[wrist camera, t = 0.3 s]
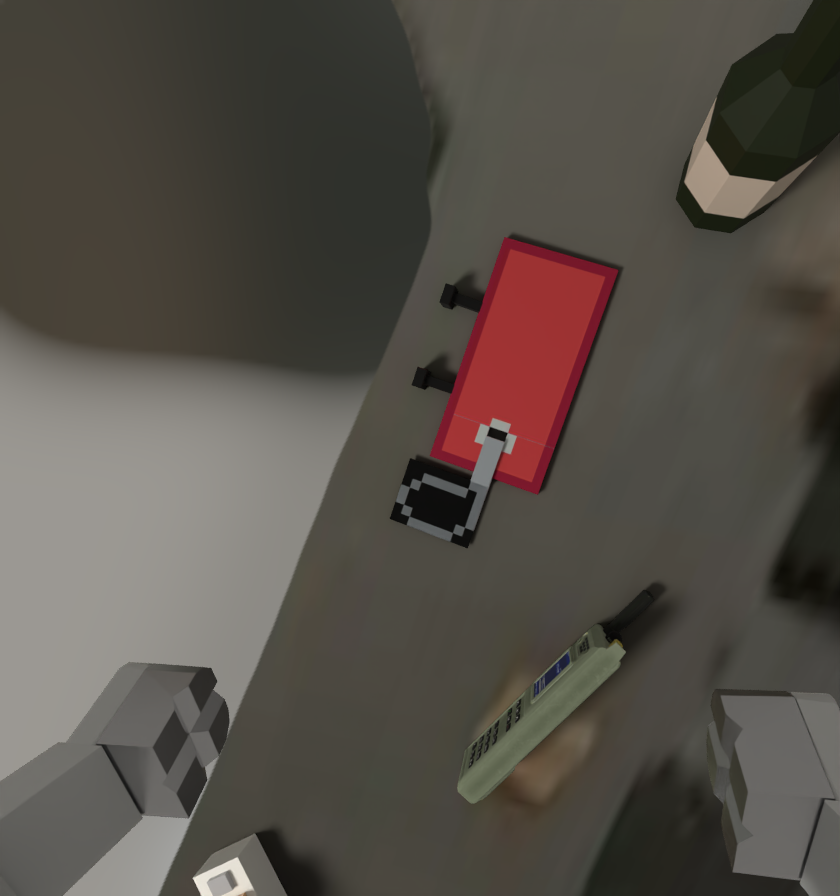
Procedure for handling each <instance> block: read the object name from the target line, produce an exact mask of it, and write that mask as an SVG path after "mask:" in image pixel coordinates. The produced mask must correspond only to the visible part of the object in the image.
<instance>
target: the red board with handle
mask: <svg viewBox="0 0 840 896" xmlns="http://www.w3.org/2000/svg"><path fill="white" fill-rule="evenodd" d="M617 273H618V270H616V269H613V268H610V267H606V266H603V265H599V264H596V263H592V262H589V261H585V260H582V259H579V258H575V257H572V256H568V255H565V254H561V253H558V252H554V251H551V250H548V249H544V248H541V247H537V246H534V245H530V244H527V243H523V242H520V241H516V240H513V239H510V238H506V237H504V240H503V243H502V246H501V249H500V252H499V255H498V258H497V261H496V264H495V267H494V270H493V272H492V275H491V278H490V281H489V284H488V287H487V290H486V293H485V296H484V299H483V302H480V301H477V300H474V299H472V298H469V297H466V296H463V295H460V294H458V290H457V289H456V287H455V286H453V285H449V284H445V287H444V290H443V293H442V296H441V299H440V303H441V305H442V306H443V307H445V308H449V309H452V308H453V305H454V304H455V305H458V306H461V307H464V308H467V309H469V310H472V311H475V312H478V316H477V319H476V322H475V325H474V328H473V331H472V334H471V337H470V340H469V343H468V346H467V348H466V351H465V354H464V357H463V360H462V363H461V366H460V369H459V372H458V375H457V378H456V381H455V384H451V383H448V382H446V381H443V380H440V379H437V378H434V377H431V376H430V374H431V372H430V371H428V370H426V369H423V368H420V367H418V368H417V371H416V374H415V377H414V380H413V383H412V385H413V386H416V387H419V388H422V389H426V386H430V387H433V388H436V389H439V390H442V391H445V392H448V393H451V395H450V398H449V401H448V404H447V407H446V410H445V413H444V416H443V419H442V422H441V424H440V427H439V430H438V433H437V436H436V439H435V442H434V445H433V448H432V451H431V454H430V456H431V457H434V458H437V459H440V460H443V461H445V462H448V463H451V464H454V465H457V466H459V467H462V468H465V469H468V470H470V471H473V475H472V478H471V480H469V479H466V478H464V477H461V476H458V475H455V474H453V473H450V472H447V471H444V470H441V469H439V468H436V467H433V466H430V465H428V464H425V463H422V462H419V461H417V460H414V459H411V458H410V461H409V464H408V467H407V470H406V473H405V476H404V478H403V481H402V484H401V487H400V490H399V493H398V496H397V499H396V502H395V505H394V508H393V511H392V514H391V517H390V519H392V520H394V521H397V522H400V523H402V524H405V525H408V526H410V527H413V528H415V529H418V530H421V531H423V532H426V533H429V534H431V535H434V536H436V537H439V538H442V539H444V540H447V541H450V542H452V543H455V544H457V545H460V546H463V547H465V548H468V546H469V543H470V540H471V537H472V534H473V531H474V528H475V526H476V523H477V520H478V517H479V514H480V511H481V509H482V506H483V503H484V500H485V497H486V494H487V492H488V489H489V486H490V484H491V481H492V478H493V479H496V480H498V481H501V482H504V483H507V484H510V485H512V486H515V487H518V488H521V489H523V490H526V491H529V492H532V493H535V494H537V495H538V493H539V490H540V487H541V484H542V481H543V479H544V476H545V473H546V470H547V468H548V465H549V462H550V459H551V456H552V454H553V451H554V448H555V445H556V442H557V440H558V437H559V434H560V431H561V429H562V426H563V423H564V420H565V417H566V415H567V412H568V409H569V406H570V404H571V401H572V398H573V395H574V392H575V390H576V387H577V384H578V381H579V379H580V376H581V373H582V370H583V367H584V365H585V362H586V359H587V356H588V354H589V351H590V348H591V345H592V342H593V340H594V337H595V334H596V331H597V328H598V326H599V323H600V320H601V317H602V315H603V312H604V309H605V306H606V303H607V301H608V298H609V295H610V292H611V290H612V287H613V284H614V281H615V278H616V276H617ZM490 427H492V428H495V429H497V430H500V431H503V432H506V433H508V434H507V437H506V440H505V442H504V441H501V440H498V439H495V438H492V437H489V436H487V435H488V432H489V430H490Z"/></svg>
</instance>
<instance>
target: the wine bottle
mask: <svg viewBox="0 0 840 896" xmlns="http://www.w3.org/2000/svg"><path fill="white" fill-rule="evenodd" d="M839 132H840V0H813V2H812V4H811V5H810V7H809V9H808V10H807V12H806V14H805V15H804V17H803V19H802V20H801V22H800V24H799V25H798V27H797V29H796V30H795V32H794V33H788V34H776V35H774V36H773V37H772V38H770V39H769V40H767V41H766V42H764V43H763V44H761V45H760V46H758V47H757V48H756V49H754V50H753V51H751V52H750V53H748V54H747V55H745V56H744V57H742V58H741V59H740V60H738V61H737V62H735V63H734V64H732V66H731V68H730V70H729V72H728V74H727V76H726V78H725V80H724V83H723V85H722V87H721V89H720V91H719V93H718V95H717V97H716V99H715V101H714V104H713V106H712V108H711V110H710V112H709V114H708V116H707V118H706V120H705V123H704V125H703V127H702V129H701V131H700V133H699V135H698V137H697V139H696V141H695V144H694V146H693V148H692V150H691V152H690V154H689V156H688V158H687V160H686V162H685V165H684V169H683V173H682V176H681V180H680V184H679V188H678V192H677V196H676V200H677V202H678V203H679V205H680V206H681V208H682V209H683V211H684V212H685V214H686V215H687V217H688V218H689V220H690V221H691V223H692V224H693V226H694V227H696V228H702V229H708V230H714V231H721V232H727V233H732V232H733V231H735V230H737V229H738V228H740V227H741V226H743V225H745V224H746V223H748V222H749V221H751V220H752V219H754V218H756V217H757V216H759V215H760V214H762V213H764V211H765V210H766V209H767V208H768V207H769V206H770V205H771V204H772V203H773V202H774V201H775V200H776V199H777V198H778V197H779V196H780V195H781V194H782V193H783V191H784V190H785V189H786V188H787V187H788V186H789V185H790V184H791V183H792V182H793V181H794V180H795V179H796V178H797V177H798V176H799V175H800V174H801V172H802V171H803V170H804V169H805V168H806V167H807V166H808V165H809V164H810V163H811V162H812V161H813V160H814V159H815V158H816V157H817V156H818V155H819V153H820V152H821V151H822V150H823V149H824V148H825V147H826V146H827V145H828V144H829V143H830V142H831V141H832V140H833V139H834V138H835V137H836V136H837V135H838V133H839Z"/></svg>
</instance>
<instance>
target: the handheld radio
mask: <svg viewBox="0 0 840 896" xmlns="http://www.w3.org/2000/svg"><path fill="white" fill-rule="evenodd" d="M653 601H654V598H653V596H652V594H651V593H649V592H648V591H646V590H643V591H642V592H641V593H640V594H639V595H638V596H637V597H636V598H635V599H634V600H633V601H632V602H631V603H630V604H629V605H628V606H627V607H626V608H625V609H624V610H623V611H622V612H620V613H619V614H618V615H617V616H616V617H615V618H616V619H615V620H614V621H613V622H611V623H610V624H608V625H607V626H606V627H605V628H603V627H602V626H601V625H598V624H596V625H594V626H593V627H591V628H590V629H589V630H588V631H587V632H586V633H585V634H584V635H583V636H582V637H581V638H580V639H579V640H578V641H577V642H576V643H574V644H573V645H572V646H571V647H569V648H568V649H567V650H566V651H565V652H564V653H563V654H562V655H561V656H560V657H559V658H558V659H557V660H556V661H555V662H554V663H553V664H552V665H551V666H550V667H549V668H548V669H547V670H546V671H545V672H543V673H542V674H541V675H540V676H539V677H538V678H537V679H536V680H535V681H534V682H533V683H532V685H531V686H530V687H529V688H528V689H527V690H526V691H525V692H524V693H523V694H522V695H521V696H520V697H519V698H518V699H517V700H516V701H515V702H514V703H513V704H512V705H511V706H510V707H508V708H507V709H506V710H505V711H504V712H503V713H502V714H501V715H500V716H499V717H498V718H497V719H496V720H495V721H494V722H493V723H492V724H491V725H490V726H489V727H488V728H487V729H486V730H485V731H484V732H483V733H482V734H481V735H480V736H479V737H478V738H477V739H476V740H475V741H474V742H473V743H472V744H471V745H470V746H469V747H468V748H467V749H466V750H465V754H464V758H463V763H462V767H461V772H460V776H459V781H458V786H457V787H458V792H459V793H460V794H461V795H462V796H463V797H464V798H465V799H466V800H467V801H469V802H470V803H472V804H473V803H476V802H478V801H479V800H483V799H484V798H486V797H487V796H488V795H489V794H490V793H491V792H492V791H493V790H494V789H495V788H496V787H497V786H498V785H499V784H500V783H502V782H503V781H504V780H505V779H506V778H507V777H508V776H509V775H510V774H511V773H512V772H513V771H514V769H515V766H516V765H517V764H518V763H519V762H520V761H521V760H523V759H524V758H525V757H526V756H527V755H528V754H529V753H530V752H531V751H532V750H533V749H534V748H535V747H536V746H537V745H538V744H539V743H540V742H541V741H543V740H544V739H545V738H546V737H547V736H548V735H549V734H550V733H551V732H552V731H553V730H554V729H555V728H556V727H557V726H558V725H559V724H560V723H562V722H563V721H564V720H565V719H566V718H567V717H568V716H569V715H570V714H571V713H572V712H573V711H574V710H575V709H576V708H577V707H578V706H579V705H580V704H582V703H583V702H584V701H585V700H586V699H587V698H588V697H589V696H590V695H591V694H592V693H593V692H594V691H595V690H596V689H597V688H598V687H599V686H600V685H602V684H603V683H604V682H605V681H606V680H607V679H608V678H609V677H610V676H611V675H612V674H613V673H614V672H615V671H616V670H617V669H618V668H619V667H620V664H621V663H620V659H621V658H622V657H623V655H624V654H625V653H626V651H625V650H624V649H623V645H622V644H621V642H622V636H621V634H620V633H619V632H621V631H622V630H623V629H624V628H626V627H627V626H628V625H629V624H630V623H631V622H632V621H633V620H634V619H635V618H636V617H637V616H638V615H639V614H640V613H642V612H643V611H644V610H645V609H646V608H647V607H648V606H649V605H650V604H651V603H652V602H653Z"/></svg>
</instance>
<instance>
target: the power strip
mask: <svg viewBox="0 0 840 896" xmlns="http://www.w3.org/2000/svg"><path fill="white" fill-rule="evenodd" d="M193 879H194V881H195V883H196V885H197V887H198V889H199V891H200V893H201V895H202V896H238V895H240V894H242V893H246V895H247V896H287V894H286V892H285V890H284V888H283V886H282V884H281V883H280V881H279V879H278V877H277V875H276V873H275V871H274V869H273V867H272V865H271V863H270V861H269V859H268V857H267V855H266V853H265V851H264V849H263V848H262V846H261V844H260V842H259V840H258V838H257V836H256V834H253V835H251V836H249V837H247V838H244V839H242V840H240V841H238V842H236V843H234V844H232V845H230V846H227V847H225V848H223V849H221V850H219V851H217V852H215V853H213V854H212V855H211V856H210V857H209V859H208V860H207V861H206V862H205V864H204V865H203V866H202V867H201V868H200V870H199V871H198V872H197V873H196V875H195V876H194V877H193Z"/></svg>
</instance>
